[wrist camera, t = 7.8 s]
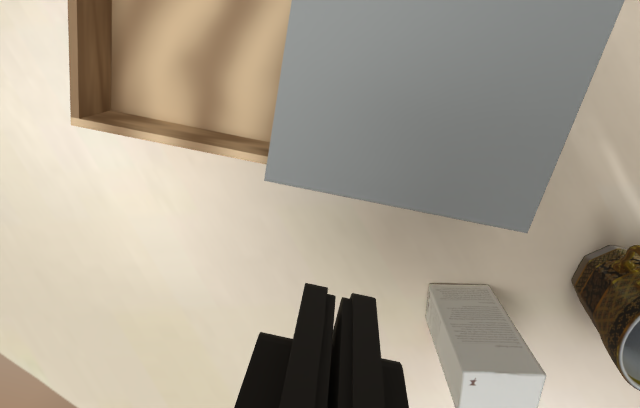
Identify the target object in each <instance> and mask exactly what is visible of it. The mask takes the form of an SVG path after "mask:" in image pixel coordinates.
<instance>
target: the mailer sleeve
mask: <svg viewBox="0 0 640 408" xmlns="http://www.w3.org/2000/svg"><path fill="white" fill-rule="evenodd" d="M623 3H624V0H292V2H291V8H290V15H289V21H288V28H287V35H286V41H285V48H284V54H283V61H282V67H281V74H280V81H279V87H278V94H277V100H276V107H275V113H274V120H273V127H272V133H271V140H270V146H269V153H268V159H267V166H266V173H265V179H264V181H269V182H274V183H279V184H284V185H289V186H294V187H299V188H304V189H309V190H314V191H319V192H324V193H329V194H334V195H339V196H344V197H349V198H354V199H359V200H364V201H369V202H374V203H379V204H384V205H389V206H394V207H399V208H404V209H409V210H414V211H419V212H424V213H429V214H434V215H439V216H444V217H449V218H454V219H459V220H464V221H469V222H474V223H479V224H484V225H489V226H494V227H499V228H504V229H509V230H514V231H519V232H524V233H528V230H529V228H530V226H531V223H532V221H533V218H534V216H535V214H536V211H537V209H538V206H539V204H540V202H541V199H542V197H543V194H544V192H545V190H546V187H547V185H548V182H549V180H550V178H551V175H552V173H553V170H554V168H555V166H556V163H557V161H558V158H559V156H560V154H561V151H562V149H563V146H564V144H565V142H566V139H567V137H568V135H569V132H570V130H571V127H572V125H573V123H574V120H575V118H576V115H577V113H578V111H579V108H580V106H581V103H582V101H583V99H584V96H585V94H586V91H587V89H588V87H589V84H590V82H591V79H592V77H593V75H594V72H595V70H596V67H597V65H598V63H599V60H600V58H601V55H602V53H603V51H604V48H605V46H606V43H607V41H608V39H609V36H610V34H611V31H612V29H613V27H614V24H615V22H616V19H617V17H618V15H619V12H620V10H621V7H622V5H623Z"/></svg>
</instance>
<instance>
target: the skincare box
mask: <svg viewBox="0 0 640 408" xmlns="http://www.w3.org/2000/svg"><path fill="white" fill-rule="evenodd" d="M426 321H427V324H428V327H429V330H430V333H431V336H432V339H433V342H434V345H435V348H436V351H437V354H438V357H439V360H440V363H441V366H442V369H443V372H444V375H445V378H446V381H447V384H448V387H449V390H450V393H451V396H452V399H453V402H454V405H455V408H538V404H539V400H540V397H541V393H542V389H543V386H544V382H545V379H546V374H545V372H544V371H543V369H542V368H541V366H540V365H539V363H538V362H537V360H536V359H535V357H534V355H533V354H532V352H531V351H530V349H529V348H528V346H527V345H526V343H525V341H524V340H523V338H522V337H521V335H520V333H519V332H518V330H517V329H516V327H515V326H514V324H513V322H512V321H511V319H510V318H509V316H508V314H507V313H506V311H505V310H504V308H503V307H502V305H501V303H500V302H499V300H498V299H497V297H496V296H495V294H494V292H493V291H492V289H491V288H490V286H489V285H460V284H429V291H428V300H427V309H426Z"/></svg>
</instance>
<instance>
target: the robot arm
mask: <svg viewBox="0 0 640 408" xmlns="http://www.w3.org/2000/svg"><path fill="white" fill-rule="evenodd" d="M327 291H328V288H327V287H322V286H317V285H313V284H308V283H305V287H304V292H303V296H302V301H301V305H300V310H299V315H298V319H297V324H296V328H295V333H294V338H293V339H290V338H285V337H281V336H276V335H272V334H267V333H262V332H260V334H259V336H258V339H257V342H256V345H255V348H254V351H253V354H252V357H251V360H250V363H249V366H248V369H247V372H246V375H245V378H244V380H243V383H242V386H241V389H240V392H239V395H238V398H237V401H236V404H235V407H234V408H409V406H408V399H407V393H406V386H405V380H404V374H403V368H402V365H401V363H400V362H396V361H391V360H387V359H382V358H381V352H380V341H379V330H378V319H377V308H376V299H375V298H373V297H368V296H364V295H359V294H354V293H352V294H351V297H350V299H348V298H343V297H342V299H341V302H340V306H339V310H338V314H337V318H336V322H335V326H334V329H333V323H334V310H335V296H334V295H330V294H327Z"/></svg>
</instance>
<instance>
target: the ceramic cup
mask: <svg viewBox="0 0 640 408" xmlns="http://www.w3.org/2000/svg"><path fill="white" fill-rule="evenodd" d="M572 284H573V286H574V288H575V290H576V293H577V295H578V297H579V299H580V302H581V303H582V305H583V307H584V309H585V310H586V312H587V313H588V315H589V317H590V319H591V320H592V322H593V324H594V325H595V327H596V329H597V330H598V332H599V334H600V336H601V339H602V341H603V344H604V346H605V348H606V350H607V351H608V353H609V355H610V357H611V358H612V360H613V362H614V364H615V365H616V367H617V368H618V370H619V371H620V373H621V374H622V376H623V377H624V379H625V380H626V381H627V382H628V383H629V384H630V385H631V386H633V387H634V388H636V389H637V390H639V391H640V246H639V245H634V246H631V247H630V248H629V249H625V248H622V247H618V246H612V245H609V246H607V247H604V248H602V249H600V250H597V251H595V252H593V253H590V254H588V255H586V256H584V258H583V260H582V261H581V263H580V265H579V267H578V269H577V270H576V272H575V274H574V276H573V278H572Z"/></svg>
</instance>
